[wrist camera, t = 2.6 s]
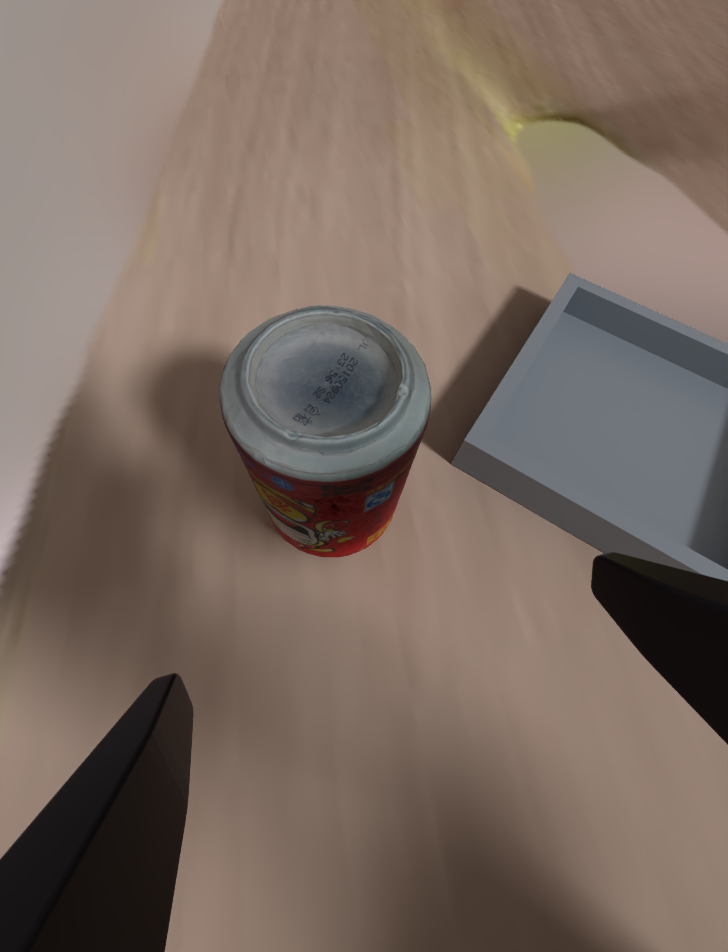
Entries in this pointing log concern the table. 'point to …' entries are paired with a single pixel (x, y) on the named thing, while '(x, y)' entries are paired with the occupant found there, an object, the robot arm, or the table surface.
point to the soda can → (326, 423)
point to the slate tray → (614, 430)
